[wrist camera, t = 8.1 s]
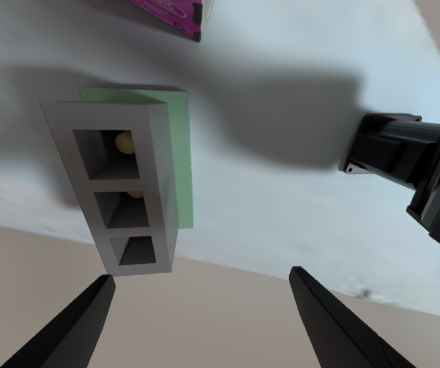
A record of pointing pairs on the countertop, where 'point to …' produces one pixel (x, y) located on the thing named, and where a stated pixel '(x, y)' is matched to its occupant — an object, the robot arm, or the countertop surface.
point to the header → (178, 132)
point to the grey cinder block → (121, 179)
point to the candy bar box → (180, 14)
